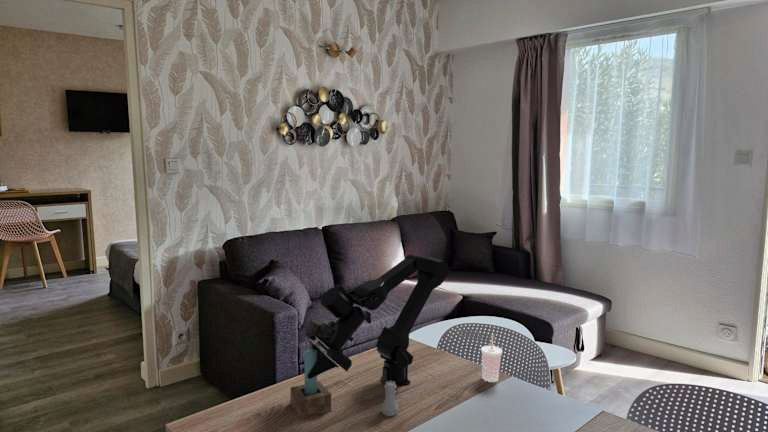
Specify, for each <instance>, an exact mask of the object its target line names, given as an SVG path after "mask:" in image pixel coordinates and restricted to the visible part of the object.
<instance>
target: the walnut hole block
mask: <svg viewBox="0 0 768 432" xmlns="http://www.w3.org/2000/svg"><path fill="white" fill-rule="evenodd" d="M290 405H291V406H292V407H293V409H294V411H296V413H297V414H298V416H299V417H300V419H303V418H307V417H311V416H315V415H319V414H324V413H327V412H331V411H332V393H331V392H330V391H329V390H328V389H327V388H326V387H325V385H323V383H322V382H321V381H319V380H317V394H314V395H309V396H305V383H304V384H300V385H295V386H290Z"/></svg>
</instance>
